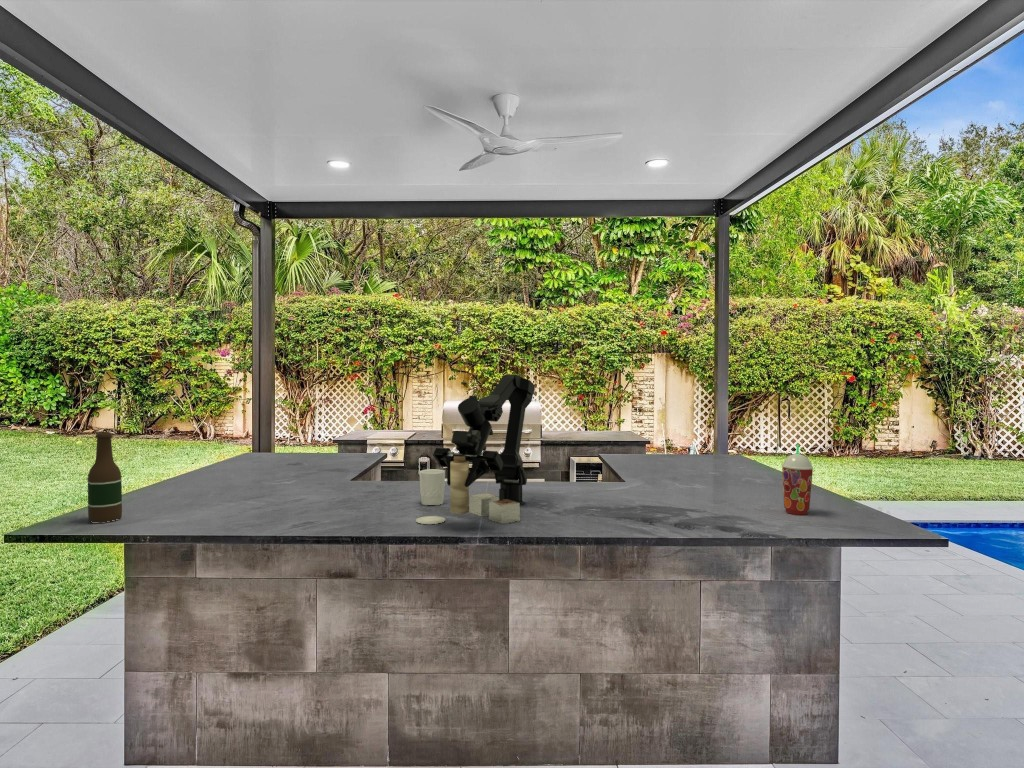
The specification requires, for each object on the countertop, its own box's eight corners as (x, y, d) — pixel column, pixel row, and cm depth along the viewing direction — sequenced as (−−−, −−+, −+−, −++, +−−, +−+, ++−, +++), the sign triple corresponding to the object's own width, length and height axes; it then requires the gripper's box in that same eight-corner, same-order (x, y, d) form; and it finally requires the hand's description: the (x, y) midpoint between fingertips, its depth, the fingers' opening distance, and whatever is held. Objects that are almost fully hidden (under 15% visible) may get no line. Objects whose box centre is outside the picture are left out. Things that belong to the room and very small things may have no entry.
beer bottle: (128, 518, 172) (127, 431, 172) (102, 525, 165) (100, 434, 164) (108, 515, 175) (107, 430, 174) (81, 522, 168) (79, 433, 167)
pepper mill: (462, 508, 165) (462, 454, 165) (472, 512, 161) (472, 456, 161) (447, 511, 162) (446, 455, 162) (456, 514, 158) (456, 458, 158)
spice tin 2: (506, 516, 176) (506, 498, 176) (519, 521, 171) (519, 502, 171) (489, 519, 172) (489, 501, 172) (501, 524, 167) (501, 505, 167)
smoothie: (812, 511, 184) (813, 443, 183) (812, 517, 176) (814, 447, 176) (781, 508, 187) (782, 442, 187) (780, 514, 180) (781, 445, 179)
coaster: (436, 516, 176) (436, 514, 176) (450, 522, 170) (450, 520, 170) (410, 520, 171) (410, 518, 171) (424, 526, 165) (424, 524, 165)
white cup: (440, 507, 188) (440, 474, 187) (415, 505, 189) (415, 473, 189) (448, 501, 195) (448, 469, 195) (424, 500, 197) (424, 468, 197)
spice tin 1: (487, 509, 184) (487, 492, 184) (498, 513, 179) (498, 495, 179) (469, 512, 180) (469, 494, 180) (481, 516, 175) (481, 498, 175)
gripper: (436, 417, 168) (414, 464, 159) (498, 420, 161) (479, 469, 151) (450, 443, 176) (430, 489, 166) (511, 446, 168) (493, 495, 159)
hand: (457, 485), depth 160 cm, fingers closed on pepper mill, 5 cm apart
